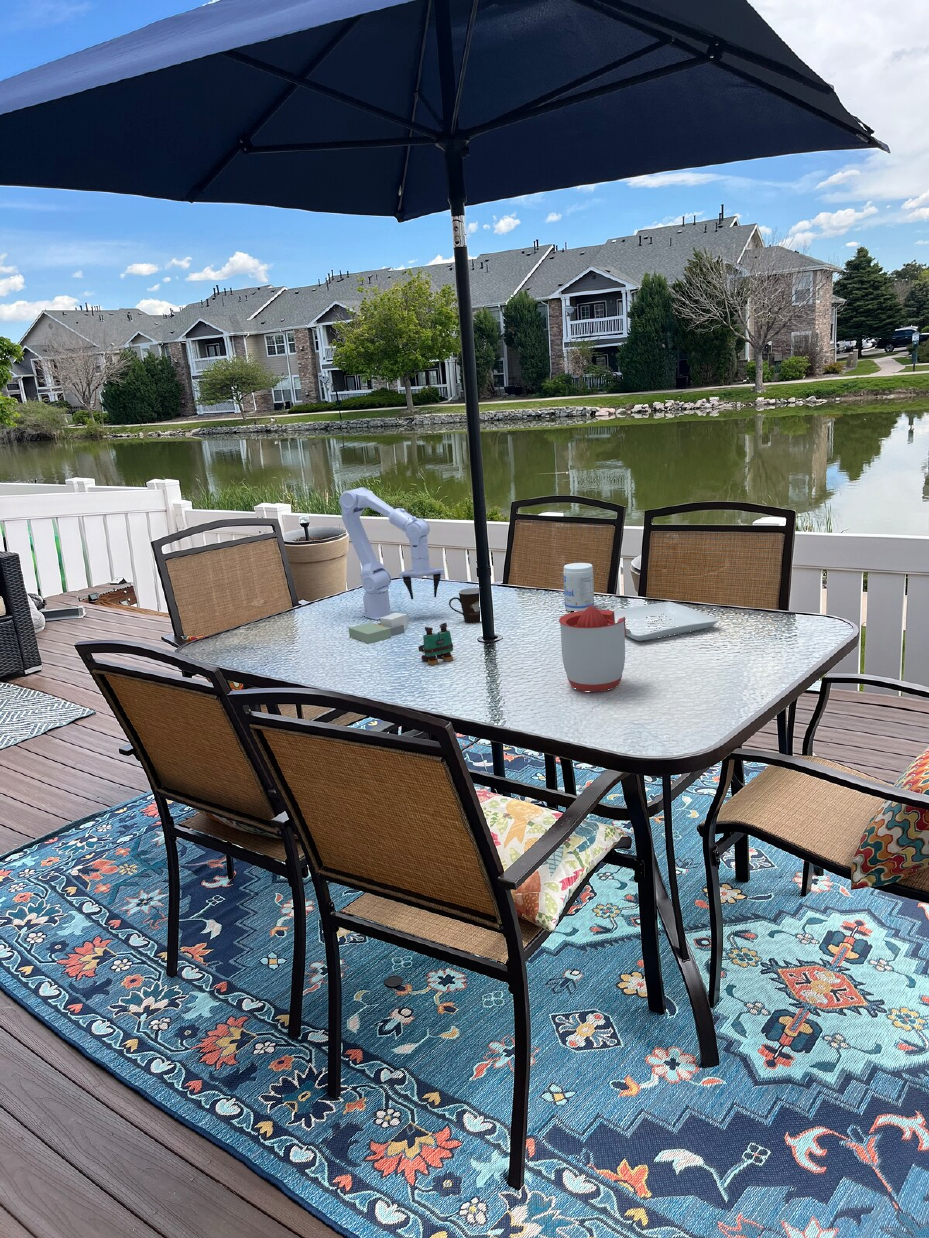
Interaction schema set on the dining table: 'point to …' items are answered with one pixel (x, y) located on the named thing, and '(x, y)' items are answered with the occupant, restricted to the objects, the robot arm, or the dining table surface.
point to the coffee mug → (469, 604)
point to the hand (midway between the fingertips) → (423, 597)
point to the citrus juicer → (593, 648)
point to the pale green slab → (374, 632)
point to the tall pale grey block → (395, 620)
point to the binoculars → (437, 645)
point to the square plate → (683, 615)
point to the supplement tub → (578, 586)
